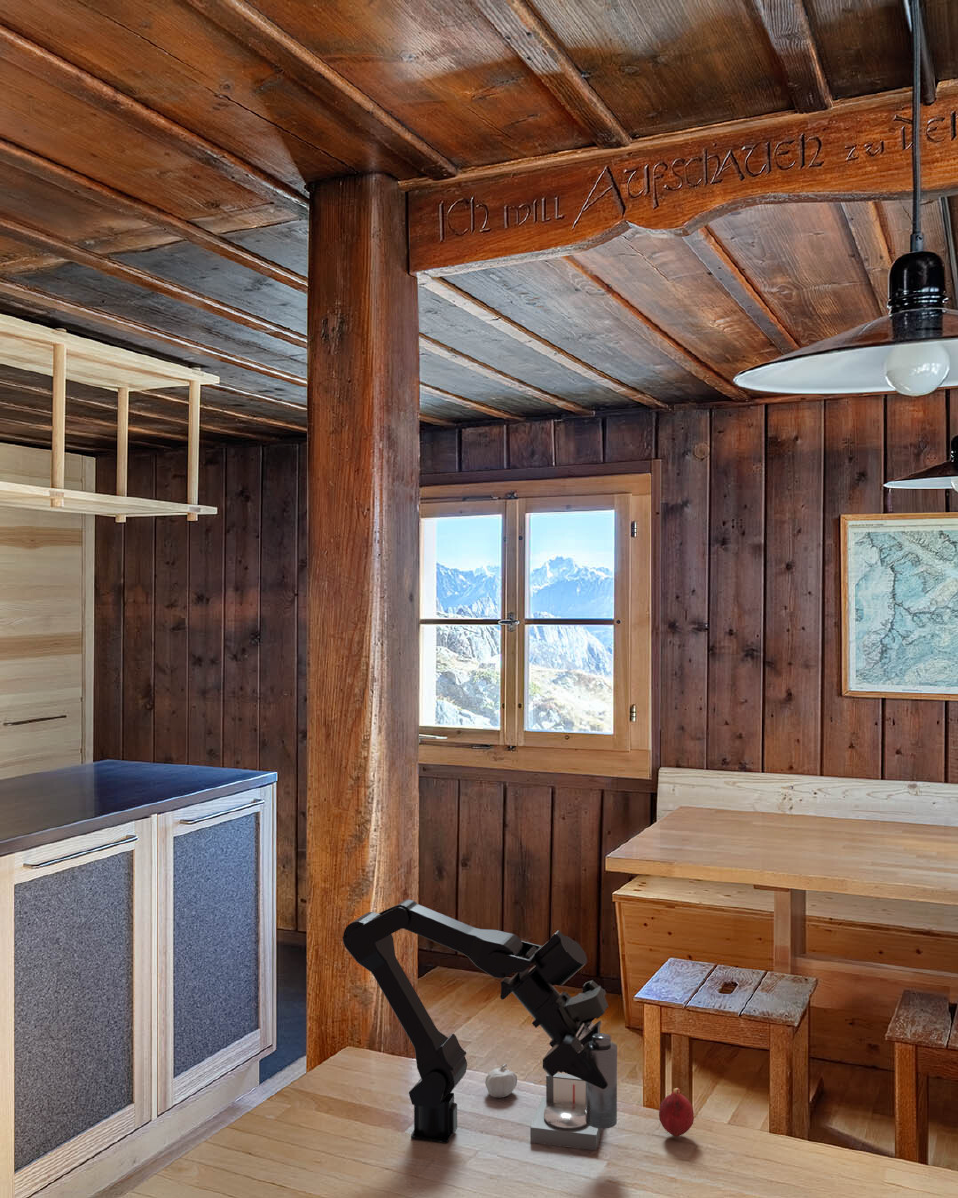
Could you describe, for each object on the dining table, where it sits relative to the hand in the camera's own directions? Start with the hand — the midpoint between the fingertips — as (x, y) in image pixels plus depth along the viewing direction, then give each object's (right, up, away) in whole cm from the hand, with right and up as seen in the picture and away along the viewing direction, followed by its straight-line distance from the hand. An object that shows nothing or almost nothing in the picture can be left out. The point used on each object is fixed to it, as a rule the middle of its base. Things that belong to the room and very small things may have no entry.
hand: (609, 1080), depth 169 cm
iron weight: (-1, -7, 0) cm, 7 cm away
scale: (-6, -13, +11) cm, 18 cm away
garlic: (-17, -14, +24) cm, 32 cm away
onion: (+12, -13, +8) cm, 20 cm away
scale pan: (-6, -11, +10) cm, 16 cm away
